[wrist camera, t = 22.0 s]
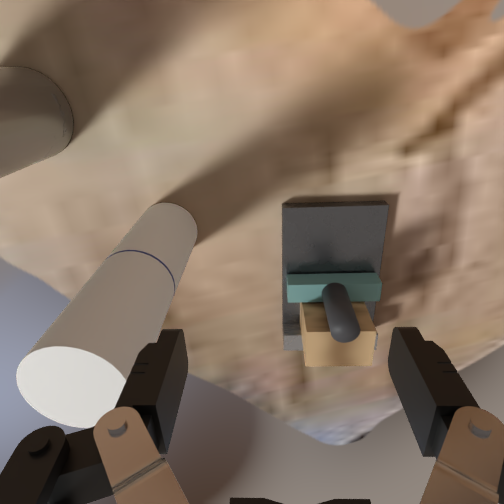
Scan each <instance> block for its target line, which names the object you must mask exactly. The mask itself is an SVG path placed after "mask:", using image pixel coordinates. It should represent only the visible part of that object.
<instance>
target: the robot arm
mask: <svg viewBox="0 0 504 504" xmlns="http://www.w3.org/2000/svg"><path fill="white" fill-rule="evenodd" d="M72 133H73V117H72V112H71V109H70V106H69V103H68V102H67V100H66V98H65V96H64V94H63V93H62V92H61V90H60V89H59V88H58V87H57V85H56V84H54V83H53V82H52V81H51V80H50V79H49V78H48V77H46V76H44V75H43V74H41V73H40V72H37V71H35V70H32V69H30V68H24V67H0V178H1V177H4V176H6V175H9V174H11V173H13V172H16V171H18V170H21V169H23V168H25V167H28V166H30V165H32V164H35V163H38V162H40V161H42V160H45V159H47V158H49V157H52V156H54V155H56V154H58V153H60V152H61V151H62V150H63V149H64V148H65V147H66V146H67V145H68V143H69V141H70V139H71V136H72ZM388 367H389V372H390V376H391V378H392V381H393V383H394V386H395V388H396V391H397V393H398V396H399V398H400V401H401V403H402V405H403V408H404V410H405V413H406V415H407V418H408V420H409V423H410V425H411V428H412V430H413V433H414V435H415V437H416V440H417V443H418V445H419V448H420V450H421V453H422V455H423V457H436V462H435V465H434V467H433V470H432V472H431V475H430V478H429V481H428V483H427V486H426V488H425V491H424V494H423V496H422V499H421V502H420V504H498V503H499V504H504V424H503V423H502V422H501V421H500V420H499V419H498V418H497V417H495V416H494V415H493V414H491V413H489V412H488V411H486V410H483V409H481V408H480V407H479V406H478V404H477V402H476V401H475V399H474V398H473V396H472V394H471V393H470V391H469V390H468V388H467V387H466V385H465V383H464V382H463V380H462V378H461V377H460V375H459V374H458V373H457V370H456V369H455V367H454V366H453V364H451V361H450V359H449V358H448V356H447V354H446V353H445V351H444V350H443V349H442V348H440V347H439V346H438V345H437V344H436V343H434V342H433V341H425V340H424V339H423V337H422V335H421V334H420V332H419V330H418V329H417V328H416V327H395V328H394V329H393V333H392V339H391V345H390V350H389V356H388ZM187 373H188V357H187V351H186V344H185V338H184V332H183V330H182V329H163V330H162V331H161V333H160V336H159V338H158V341H157V343H148V344H147V345H146V346H145V347H144V348H143V349H142V350H141V351H140V352H139V354H138V356H137V358H136V360H135V363H134V365H133V367H132V369H131V372H130V374H129V376H128V378H127V381H126V383H125V385H124V387H123V390H122V392H121V394H120V396H119V399H118V401H117V403H116V405H115V408H114V409H112V410H110V411H109V412H107V413H106V414H104V415H103V416H102V417H101V418H100V419H99V420H98V422H97V423H96V425H95V426H93V427H91V428H88V429H85V430H81V431H78V432H74V433H71V434H67V435H65V433H64V431H63V430H62V429H61V428H59V427H57V426H46V427H42V428H40V429H37V430H35V431H33V432H32V433H30V434H29V435H27V436H26V437H25V438H24V439H23V440H22V441H21V442H20V443H19V444H18V446H17V447H16V449H15V450H14V452H13V454H12V456H11V457H10V459H9V461H8V462H7V464H6V466H5V467H4V469H3V471H2V472H1V474H0V504H87V503H90V502H93V501H96V500H99V499H101V498H105V497H108V496H111V495H114V496H115V499H116V502H117V504H189V503H188V501H187V499H186V497H185V495H184V493H183V491H182V490H181V487H180V485H179V484H178V482H177V480H176V478H175V476H174V474H173V472H172V470H171V468H170V466H169V465H168V463H167V461H166V460H165V458H163V459H162V458H161V456H160V454H167V452H168V448H169V444H170V440H171V436H172V432H173V429H174V424H175V420H176V417H177V413H178V409H179V405H180V401H181V397H182V393H183V389H184V385H185V381H186V377H187ZM230 504H282V503H279V502H275V501H272V500H269V499H265V498H230ZM319 504H371V502H370V499H333V500H330V501H326V502H322V503H319Z"/></svg>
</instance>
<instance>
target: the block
mask: <svg viewBox="0 0 504 504" xmlns="http://www.w3.org/2000/svg"><path fill="white" fill-rule="evenodd" d="M351 303H352V306H353V309H354V312H355V315H356V317H357V320H358V323H359V326H360V329H361V331H360V334H359V336H358V337H357V338H356V339H355V340H353V341H351V342H347V343H341V342H338V341H336V340H334V339H333V337H332V336H331V332H330V328H329V324H328V320H327V316H326V311H325V307H324V303H323V302H300V328H301V336H302V343H303V351H304V358H305V366H372V359H373V352H374V346H375V339H376V332H377V331H376V329H375V326H374V324H373V322H372V319H371V317H370V314H369V312H368V310H367V307H366V305H365V302H364V301H360V302H351Z"/></svg>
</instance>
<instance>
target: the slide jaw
mask: <svg viewBox="0 0 504 504" xmlns="http://www.w3.org/2000/svg"><path fill="white" fill-rule="evenodd" d="M381 289H382V282H381V280H380V278H379V276H378V275H377V273H333V274H287V298H288V303H294V302H323V303H324V307H325V311H326V316H327V320H328V324H329V328H330V332H331V336H332V337H333V339H334V340H336V341H338V342H341V343H347V342H351V341H353V340H355V339H356V338H357V337H358V336H359V334H360V331H361V329H360V326H359V323H358V320H357V317H356V315H355V312H354V309H353V306H352V303H351V302H360V301H380V296H381Z"/></svg>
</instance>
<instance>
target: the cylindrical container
mask: <svg viewBox="0 0 504 504" xmlns="http://www.w3.org/2000/svg"><path fill="white" fill-rule="evenodd" d="M197 233H198V232H197V225H196V222H195V220H194V218H193V217H192V216H191V214H190V213H189V212H188V211H187V210H186V209H184V208H182V207H181V206H179V205H176V204H172V203H158V204H155V205H153V206H151V207H150V208H148V209H147V210H146V211H145V212H144V214H143V215H142V216H141V217H140V218H139V220H138V221H137V222H136V223H135V224H134V226H133V227H132V228H131V229H130V230H129V232H128V233H127V234H126V235H125V236H124V238H123V239H122V240H121V241H120V243H119V244H118V245H117V246H116V247H115V249H114V250H113V251H112V252H111V253H110V255H109V256H108V257H107V258H106V259H105V261H104V262H103V263H102V264H101V265H100V267H99V268H98V269H97V270H96V272H95V273H94V274H93V275H92V276H91V278H90V279H89V280H88V281H87V282H86V284H85V285H84V286H83V287H82V288H81V290H80V291H79V292H78V293H77V294H76V296H75V297H74V298H73V299H72V300H71V302H70V303H69V304H68V305H67V307H66V308H65V309H64V310H63V312H62V313H61V314H60V315H59V316H58V317H57V319H56V320H55V321H54V322H53V323H52V325H51V326H50V327H49V328H48V329H47V331H46V332H45V333H44V334H43V336H42V337H41V338H40V339H39V341H38V342H37V343H36V344H35V345H34V346H33V348H32V349H31V350H30V351H29V352H28V354H27V355H26V356H25V357H24V358H23V360H22V361H21V363H20V365H19V366H18V369H17V374H16V379H17V385H18V388H19V390H20V393H21V394H22V395H23V397H24V398H25V400H26V401H27V402H28V403H29V404H30V405H31V406H32V407H33V408H34V409H36V410H37V411H38V412H39V413H41V414H42V415H44V416H46V417H47V418H49V419H51V420H54V421H56V422H58V423H61V424H65V425H68V426H73V427H79V428H91V427H93V426H95V425H96V423H97V422H98V420H99V419H100V418H101V417H102V416H103V415H104V414H106V413H107V412H109V411H110V410H112V409H114V408H115V405H116V403H117V401H118V399H119V396H120V394H121V392H122V390H123V387H124V385H125V383H126V381H127V378H128V376H129V374H130V372H131V369H132V367H133V365H134V363H135V360H136V358H137V356H138V354H139V352H140V351H141V350H142V349H143V348H144V347H145V346H146V345H147V344H148V343H155V342H156V339H157V337H158V334H159V332H160V329H161V327H162V324H163V322H164V319H165V317H166V314H167V312H168V309H169V307H170V304H171V301H172V299H173V296H174V294H175V292H176V289H177V287H178V284H179V282H180V279H181V277H182V274H183V272H184V269H185V267H186V264H187V262H188V259H189V257H190V254H191V252H192V249H193V247H194V244H195V242H196V239H197Z"/></svg>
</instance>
